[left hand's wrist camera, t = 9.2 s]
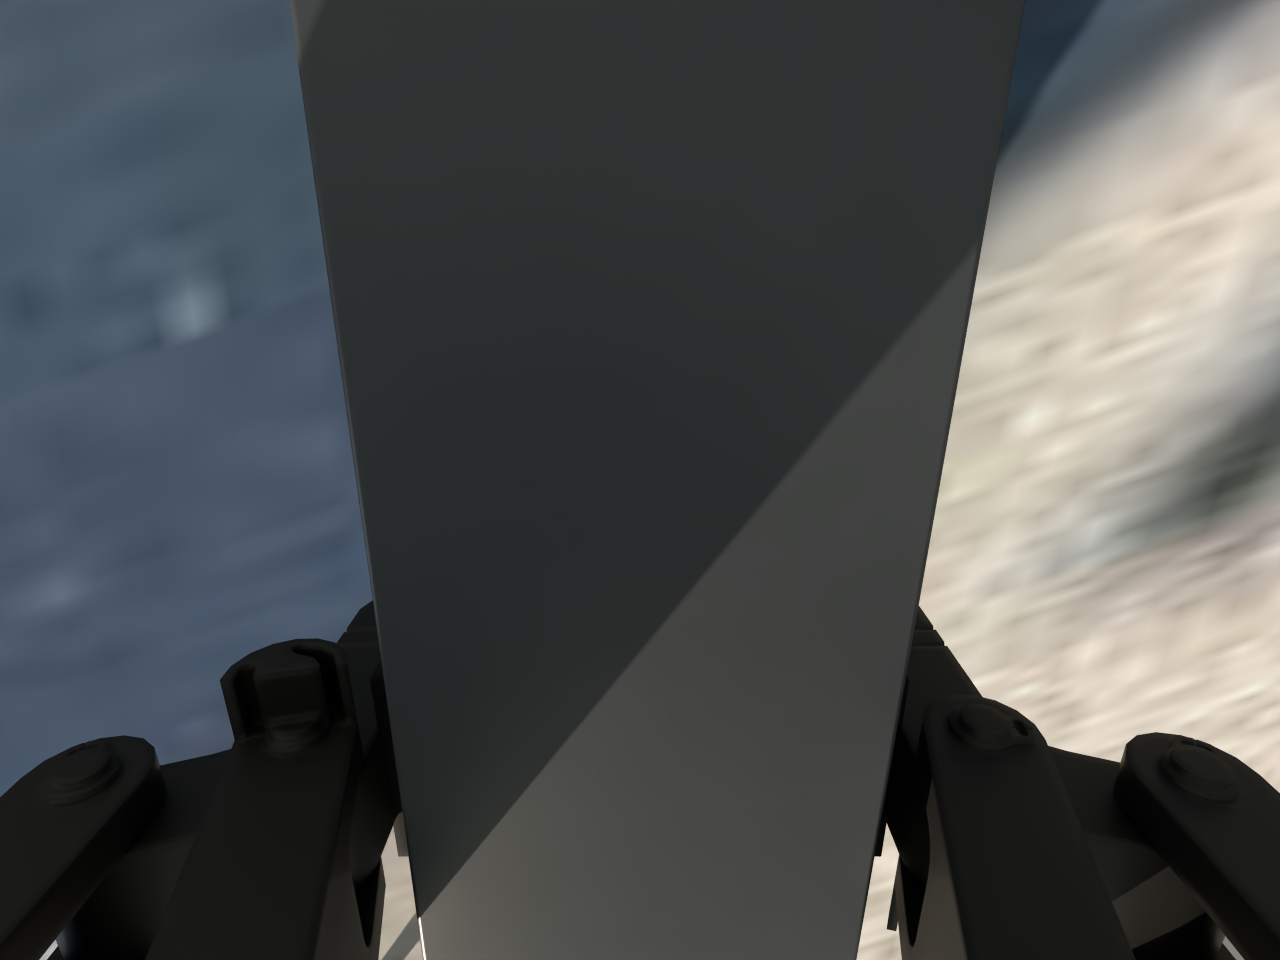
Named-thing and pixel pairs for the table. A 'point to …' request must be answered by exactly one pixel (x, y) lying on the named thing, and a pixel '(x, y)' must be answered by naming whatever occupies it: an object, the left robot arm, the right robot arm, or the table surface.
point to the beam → (649, 438)
